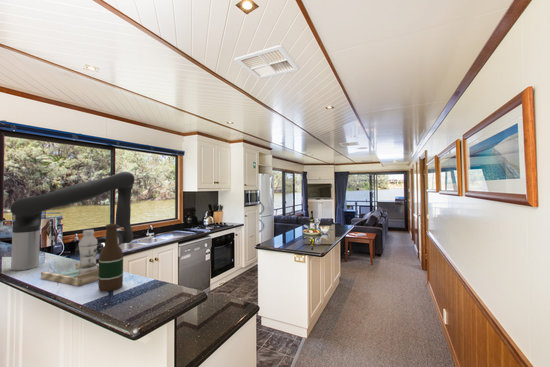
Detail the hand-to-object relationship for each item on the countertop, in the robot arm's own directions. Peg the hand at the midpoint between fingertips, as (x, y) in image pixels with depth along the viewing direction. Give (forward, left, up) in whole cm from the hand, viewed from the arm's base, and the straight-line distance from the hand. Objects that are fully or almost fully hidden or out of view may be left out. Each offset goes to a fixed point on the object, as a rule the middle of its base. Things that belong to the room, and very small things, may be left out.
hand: (88, 251), depth 104 cm
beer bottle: (+19, -4, -11) cm, 22 cm away
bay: (-6, 0, -11) cm, 13 cm away
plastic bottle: (0, 0, -11) cm, 11 cm away
